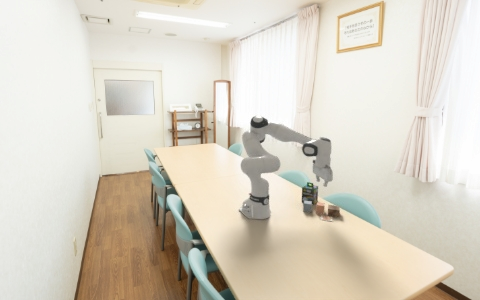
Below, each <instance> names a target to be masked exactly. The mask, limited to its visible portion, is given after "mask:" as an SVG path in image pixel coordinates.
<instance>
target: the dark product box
mask: <svg viewBox="0 0 480 300" xmlns="http://www.w3.org/2000/svg"><path fill="white" fill-rule="evenodd" d="M318 196H319V185H314V182H309V181H308V182H306V184H304V185H303V186H302V187H301V203H304V200H305V201H312V204H313V205H315V204H317V202H318V200H319V199H318V198H319V197H318Z"/></svg>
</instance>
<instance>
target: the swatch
mask: <svg viewBox="0 0 480 300" xmlns="http://www.w3.org/2000/svg"><path fill="white" fill-rule="evenodd" d="M320 221H324V222H326V221H327V222H331V223H333V217H332V216H328V215H323V214H320Z"/></svg>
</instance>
